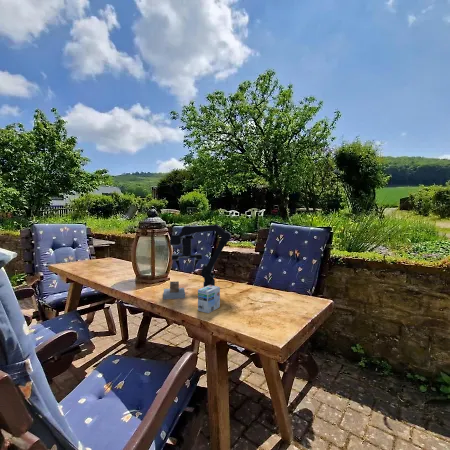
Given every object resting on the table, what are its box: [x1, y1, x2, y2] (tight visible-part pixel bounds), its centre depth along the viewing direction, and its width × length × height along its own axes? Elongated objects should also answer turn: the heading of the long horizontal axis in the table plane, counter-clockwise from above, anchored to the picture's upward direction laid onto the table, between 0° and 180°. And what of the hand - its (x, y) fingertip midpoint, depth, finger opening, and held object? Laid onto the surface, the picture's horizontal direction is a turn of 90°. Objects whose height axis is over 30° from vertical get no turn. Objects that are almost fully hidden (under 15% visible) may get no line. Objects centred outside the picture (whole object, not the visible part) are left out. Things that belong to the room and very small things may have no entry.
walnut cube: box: [169, 281, 180, 293], centre depth 152 cm, size 5×5×5 cm
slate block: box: [162, 287, 186, 300], centre depth 152 cm, size 12×12×3 cm
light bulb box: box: [197, 285, 221, 314], centre depth 131 cm, size 11×7×11 cm, turn 148°
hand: (186, 270), depth 165 cm, fingers open, 9 cm apart
